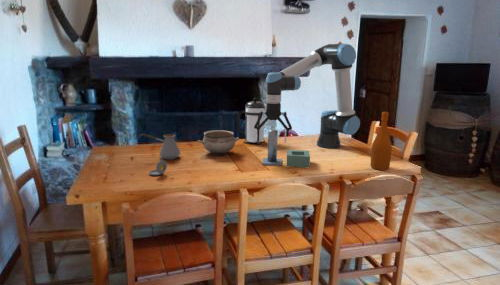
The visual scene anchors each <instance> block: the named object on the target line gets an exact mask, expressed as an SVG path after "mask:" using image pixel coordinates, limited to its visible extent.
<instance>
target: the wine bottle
mask: <svg viewBox="0 0 500 285" xmlns="http://www.w3.org/2000/svg"><path fill="white" fill-rule="evenodd" d="M389 115H390V114H389V112H388V111H382V112H381V119H380V120H381V124H380V127H379V130H378V133H377V134H376V136H375V138H374V140H373V142H372V145H371V151H370V152H371V153H370V168H372V169H375V170H377V171H386V170H389V169H390V166H391V159H392V158H391V157H392V150H393V149H392V142H391V135H390V134H391V133H390V131H388V121H389Z"/></svg>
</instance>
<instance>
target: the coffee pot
mask: <svg viewBox="0 0 500 285" xmlns="http://www.w3.org/2000/svg"><path fill="white" fill-rule="evenodd" d="M142 136H144V137H147V138H148V139H149V138H150V139H153V140H157V141H159V142H163V143H162V146H161V148H160V151H159V155H160V156H161V155H163V156H161V157H160V156H159V157H160V158H162V157H163V158H162V159H163V160H169V161H170V160H175V159H177V158H178V157H179V156H180V155H181V151H180V149H179V147H178V145H177V143H176V140H175V137H176V135H175V134H171V133H169V134H167V133H166V134H163V138H164V139H160V138H157V137H155V136H152V135H150V134H149V135H148V134H146V133H142V132H141V134H140V138H141V137H142Z"/></svg>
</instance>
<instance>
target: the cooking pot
mask: <svg viewBox="0 0 500 285" xmlns="http://www.w3.org/2000/svg"><path fill="white" fill-rule="evenodd" d="M203 135H204V136H203V138H202V140H200V139H198V140H197V142H198V143H200V144H202V146H203V148H204V150H206V151H207V152H209V153H211V154H213V155H215V156H223V155H225V154H227V153H229V152H230V151H231V150H232V149H233V148H234V147H235V144H236V142H238V141H239V140H240V138H239V137H238V136H237V137H235V136H234V131H229V130H224V129H223V130H222V129H221V130H218V129H216V130H208V131H204V132H203Z"/></svg>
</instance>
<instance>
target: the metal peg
mask: <svg viewBox="0 0 500 285" xmlns="http://www.w3.org/2000/svg"><path fill="white" fill-rule="evenodd" d="M278 131H279V130H278V129H268V133H267V134H268V136H267V158H268V159H267V161H268V162H276V161H277V159H278V157H277V156H278Z"/></svg>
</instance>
